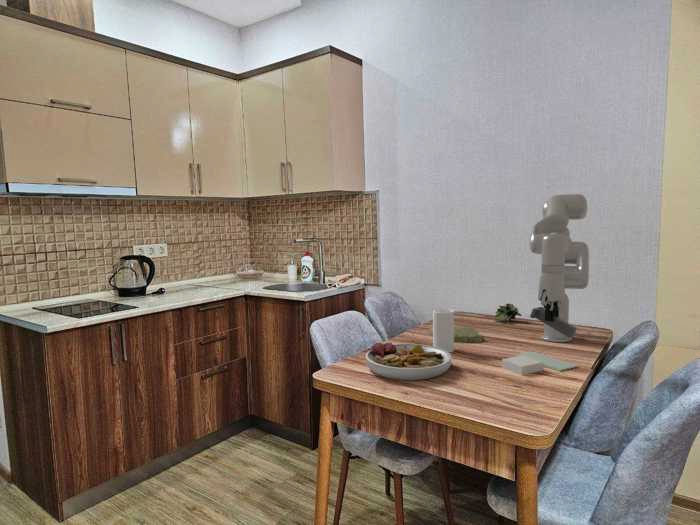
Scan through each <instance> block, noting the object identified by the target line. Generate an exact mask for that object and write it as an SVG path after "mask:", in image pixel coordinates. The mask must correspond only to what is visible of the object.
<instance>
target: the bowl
mask: <svg viewBox="0 0 700 525" xmlns="http://www.w3.org/2000/svg"><path fill="white" fill-rule="evenodd" d="M365 354H366V355H365V362H366V364H367V366H368V368H369V369H370V370H372V372H374V373H375V374H377V375H379V376H381V377H384V378H388V379H393V380H399V379H400V380H401V381H421V380H422V379H423V380H428V379H433V378H436V377H439V376H441V375H443V374H445V373H446V372H447V371H448V370H449V369H450V367H451V365H452V355H451V352H450V353H448V352H447V351H445V350H443V349H440V348H437V347H433V345H432V346H431V345H427V344H420V343H419V344H418V343H417V344H416V343H396V344H395V343H392V342H389V341H387V342H385V343H382V342H375V343H374V344H372V346H371V347H370V350H368V351H367V352H366V353H365Z"/></svg>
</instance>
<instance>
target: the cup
mask: <svg viewBox="0 0 700 525" xmlns="http://www.w3.org/2000/svg"><path fill="white" fill-rule="evenodd" d="M454 317H455V311H454V310H453V309H448V308H437V309H433V311H432V327H433V337H432V346H433V347H437V348H440V349H443V350H445V351H447V352H448V353H449V352H450V353H453V352H454V351H455V342H454V327H455V318H454Z"/></svg>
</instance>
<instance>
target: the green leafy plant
mask: <svg viewBox="0 0 700 525" xmlns="http://www.w3.org/2000/svg"><path fill="white" fill-rule="evenodd" d="M516 316H519V317H522V314H521V313H520V312H519V308H518V307H517V306H514V304H513V303H505V305H498V308H497V309H496V312H495V315H494V316H493V318H492V319H493V320H494V321H495V320H496V321H497V320H498V319H500V318H502V319H503V320H504V321H507V322H506V323H509V321H512V320H516Z"/></svg>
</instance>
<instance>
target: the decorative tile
mask: <svg viewBox="0 0 700 525" xmlns="http://www.w3.org/2000/svg"><path fill="white" fill-rule="evenodd" d="M429 332H430V333H429V334H430V335H432V336H431V337H432V338H433V326H431V327H429ZM482 342H483V340H482V335H481V334H480V333H479V332H478V330H476V329H475V328H474V327H473V326H454V343H482Z"/></svg>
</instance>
